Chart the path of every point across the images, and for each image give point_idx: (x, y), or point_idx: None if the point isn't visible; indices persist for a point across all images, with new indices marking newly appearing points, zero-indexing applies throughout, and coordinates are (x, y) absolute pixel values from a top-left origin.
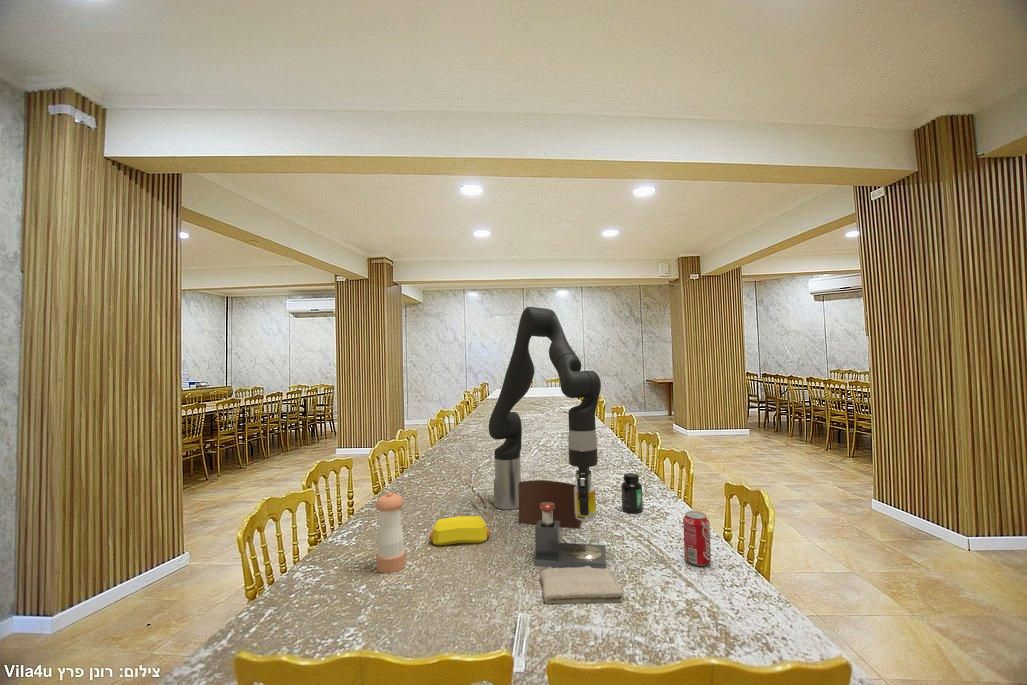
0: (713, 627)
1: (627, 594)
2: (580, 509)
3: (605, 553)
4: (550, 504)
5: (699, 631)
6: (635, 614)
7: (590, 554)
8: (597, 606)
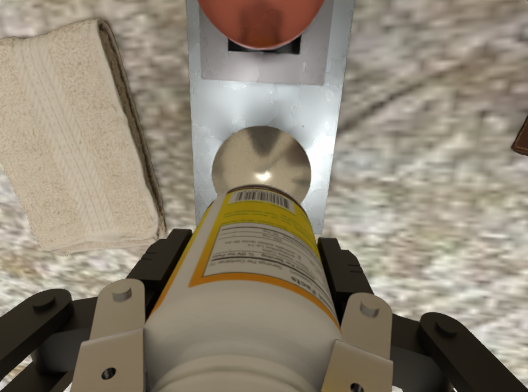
0: None
1: (94, 255)
2: (163, 245)
3: None
4: (263, 3)
5: None
6: (22, 261)
7: None
8: None
